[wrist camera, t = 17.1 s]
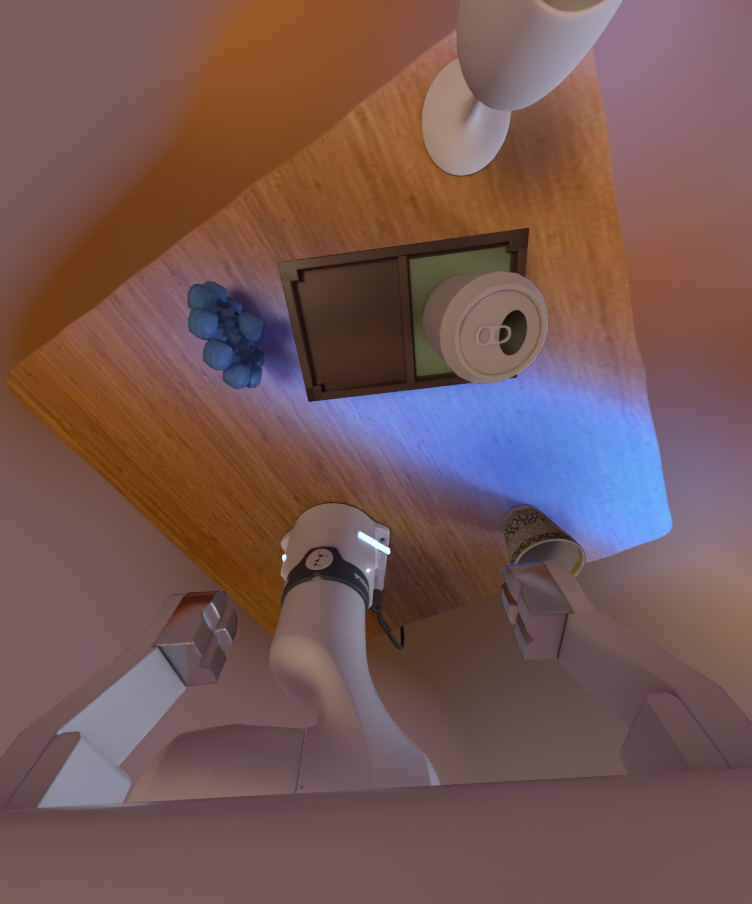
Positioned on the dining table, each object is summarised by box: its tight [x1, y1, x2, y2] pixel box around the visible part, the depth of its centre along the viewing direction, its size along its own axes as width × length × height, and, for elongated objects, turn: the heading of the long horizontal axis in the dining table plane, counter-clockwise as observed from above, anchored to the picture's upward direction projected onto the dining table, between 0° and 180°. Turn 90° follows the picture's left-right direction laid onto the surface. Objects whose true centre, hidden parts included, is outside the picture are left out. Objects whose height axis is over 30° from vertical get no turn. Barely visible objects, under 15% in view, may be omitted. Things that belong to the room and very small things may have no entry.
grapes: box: [188, 281, 264, 389], centre depth 36 cm, size 12×7×12 cm, turn 22°
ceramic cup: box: [502, 505, 585, 578], centre depth 52 cm, size 13×10×10 cm
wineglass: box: [422, 0, 622, 176], centre depth 23 cm, size 9×9×21 cm
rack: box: [278, 228, 529, 402], centre depth 36 cm, size 13×22×10 cm, turn 97°
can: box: [422, 271, 548, 384], centre depth 27 cm, size 8×8×12 cm
